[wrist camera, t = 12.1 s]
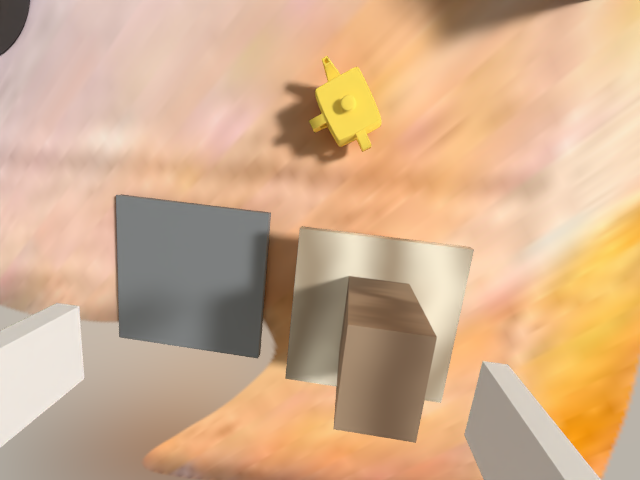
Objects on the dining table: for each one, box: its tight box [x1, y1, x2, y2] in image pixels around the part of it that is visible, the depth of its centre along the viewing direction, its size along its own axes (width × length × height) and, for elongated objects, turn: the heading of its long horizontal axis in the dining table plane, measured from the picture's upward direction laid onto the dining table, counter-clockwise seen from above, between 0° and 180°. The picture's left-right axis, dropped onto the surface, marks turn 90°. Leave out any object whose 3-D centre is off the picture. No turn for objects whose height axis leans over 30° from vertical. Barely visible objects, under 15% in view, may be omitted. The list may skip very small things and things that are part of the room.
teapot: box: [309, 56, 381, 152], centre depth 29 cm, size 8×6×5 cm
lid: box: [285, 226, 474, 443], centre depth 24 cm, size 14×14×10 cm
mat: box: [116, 195, 271, 358], centre depth 35 cm, size 16×16×1 cm
